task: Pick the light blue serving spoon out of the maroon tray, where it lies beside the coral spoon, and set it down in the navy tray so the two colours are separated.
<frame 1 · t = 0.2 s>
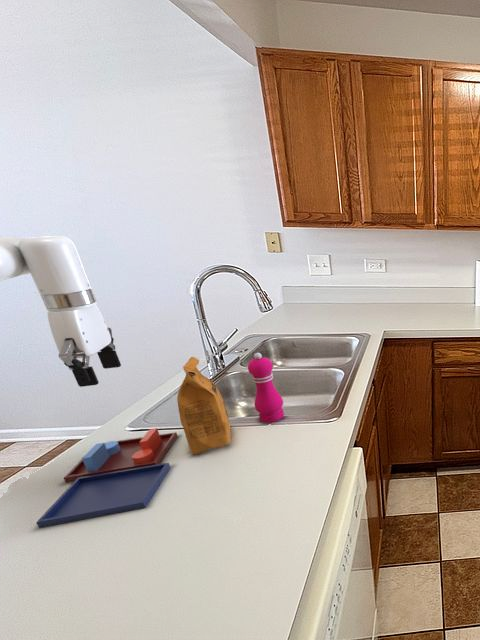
hand: (101, 375, 87), 22 cm above the table, tool pointing down, fingers open, 9 cm apart
blue spoon: (103, 459, 95), resting on maroon tray
maroon tray: (126, 457, 97), on the table
navy tray: (111, 494, 85), on the table
pepper mill: (272, 417, 114), on the table
coral spoon: (150, 452, 98), resting on maroon tray
coffee package: (213, 441, 103), on the table
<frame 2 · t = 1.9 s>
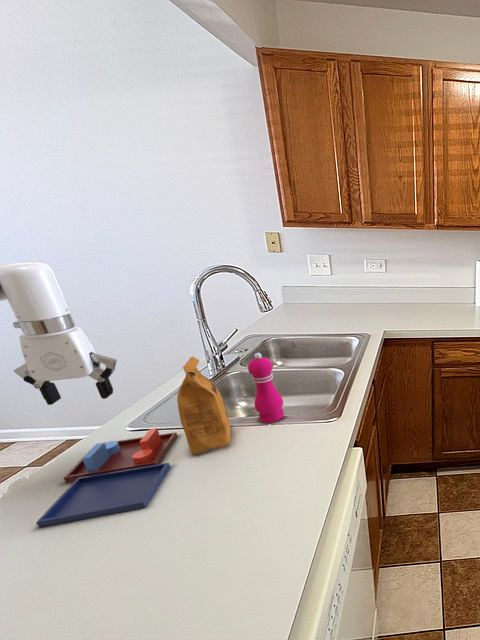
hand: (81, 398, 87), 18 cm above the table, tool pointing down, fingers open, 9 cm apart
nothing on the table moved.
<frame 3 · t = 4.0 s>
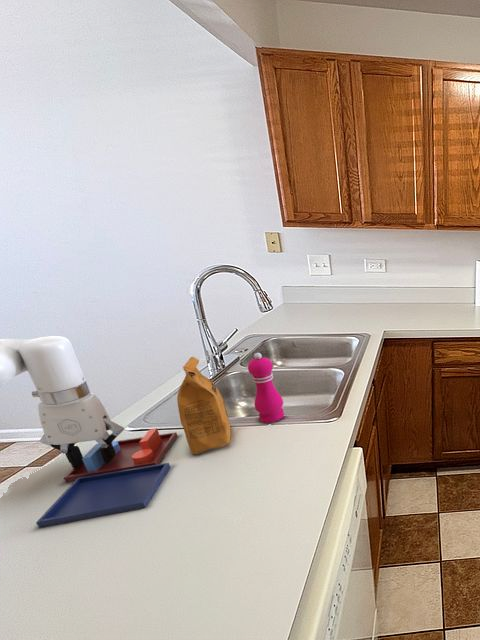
hand: (94, 461, 93), 2 cm above the table, tool pointing down, fingers open, 5 cm apart
nothing on the table moved.
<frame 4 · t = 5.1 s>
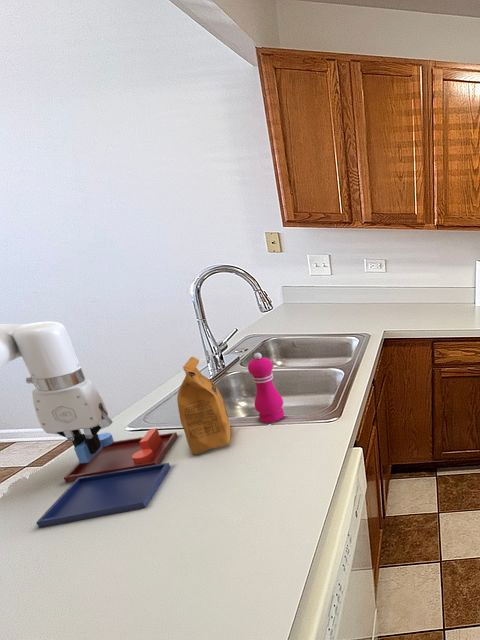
hand: (90, 451, 92), 4 cm above the table, tool pointing down, fingers closed on blue spoon
blue spoon: (96, 451, 94), point 3 cm above the table, touching gripper
everything else where it was.
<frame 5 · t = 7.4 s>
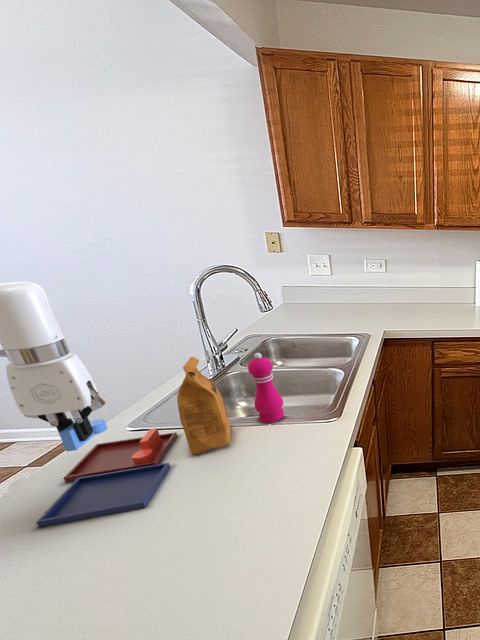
hand: (79, 438, 78), 15 cm above the table, tool pointing down, fingers closed on blue spoon
blue spoon: (86, 439, 80), point 14 cm above the table, touching gripper
everything else where it was.
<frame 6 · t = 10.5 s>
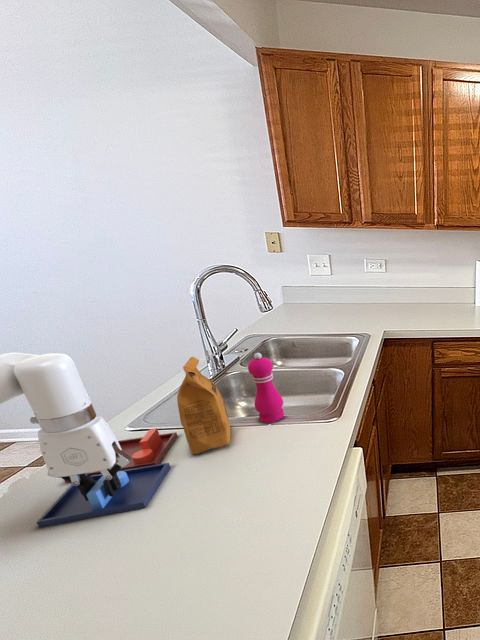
hand: (103, 493, 82), 2 cm above the table, tool pointing down, fingers open, 3 cm apart
blue spoon: (110, 494, 84), resting on navy tray
everything else where it was.
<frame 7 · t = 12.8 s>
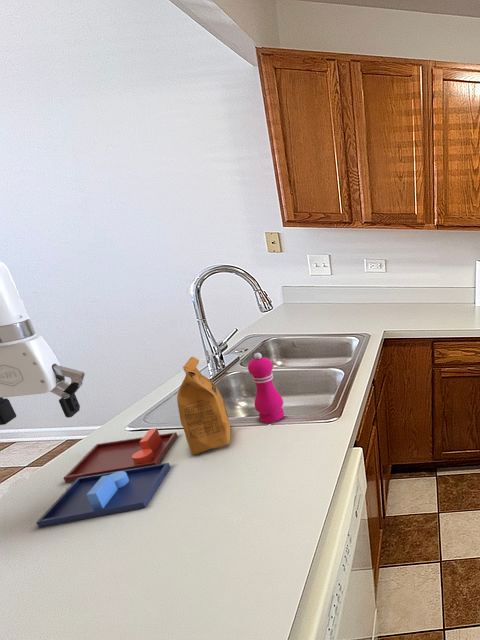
hand: (41, 417, 75), 20 cm above the table, tool pointing down, fingers open, 9 cm apart
nothing on the table moved.
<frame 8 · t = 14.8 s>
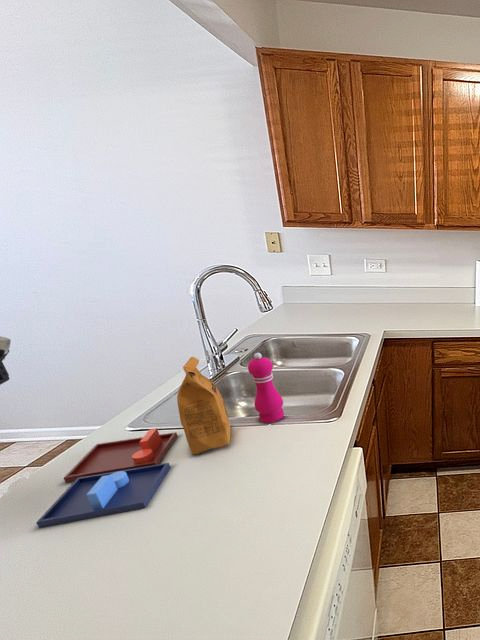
nothing on the table moved.
at the end: blue spoon inside the target area in the navy tray (0.3 cm from its centre), point 0.4 cm above the navy tray's base; coral spoon inside the target area in the maroon tray (5.0 cm from its centre), point 0.4 cm above the maroon tray's base; the gripper is holding nothing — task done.
